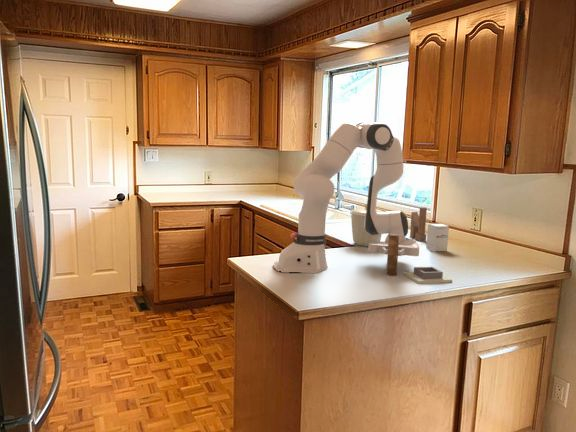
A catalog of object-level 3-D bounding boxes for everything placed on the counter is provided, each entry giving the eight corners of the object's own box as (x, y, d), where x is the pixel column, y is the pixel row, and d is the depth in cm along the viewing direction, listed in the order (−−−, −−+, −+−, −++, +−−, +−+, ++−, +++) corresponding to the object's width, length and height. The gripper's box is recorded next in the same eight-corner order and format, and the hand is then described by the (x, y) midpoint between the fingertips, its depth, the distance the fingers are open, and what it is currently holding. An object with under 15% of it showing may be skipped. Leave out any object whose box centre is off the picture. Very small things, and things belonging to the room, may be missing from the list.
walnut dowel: (388, 275, 192) (391, 236, 190) (385, 273, 196) (387, 234, 193) (398, 275, 193) (400, 236, 190) (394, 272, 197) (396, 234, 194)
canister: (362, 239, 261) (364, 200, 258) (391, 245, 248) (393, 204, 245) (341, 243, 248) (343, 203, 245) (370, 250, 236) (372, 207, 232)
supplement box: (434, 252, 235) (436, 226, 233) (425, 248, 242) (427, 223, 240) (447, 251, 237) (449, 225, 235) (438, 247, 244) (440, 223, 242)
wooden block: (415, 237, 270) (417, 205, 267) (426, 241, 260) (428, 207, 257) (409, 237, 269) (411, 205, 266) (420, 241, 259) (422, 208, 256)
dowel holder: (417, 283, 183) (418, 274, 182) (404, 274, 194) (404, 266, 194) (452, 282, 185) (452, 273, 185) (436, 273, 197) (437, 265, 196)
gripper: (370, 236, 207) (366, 242, 194) (419, 240, 202) (419, 247, 189) (369, 250, 208) (365, 258, 195) (418, 254, 203) (418, 262, 190)
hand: (392, 252), depth 192 cm, fingers closed on walnut dowel, 4 cm apart
